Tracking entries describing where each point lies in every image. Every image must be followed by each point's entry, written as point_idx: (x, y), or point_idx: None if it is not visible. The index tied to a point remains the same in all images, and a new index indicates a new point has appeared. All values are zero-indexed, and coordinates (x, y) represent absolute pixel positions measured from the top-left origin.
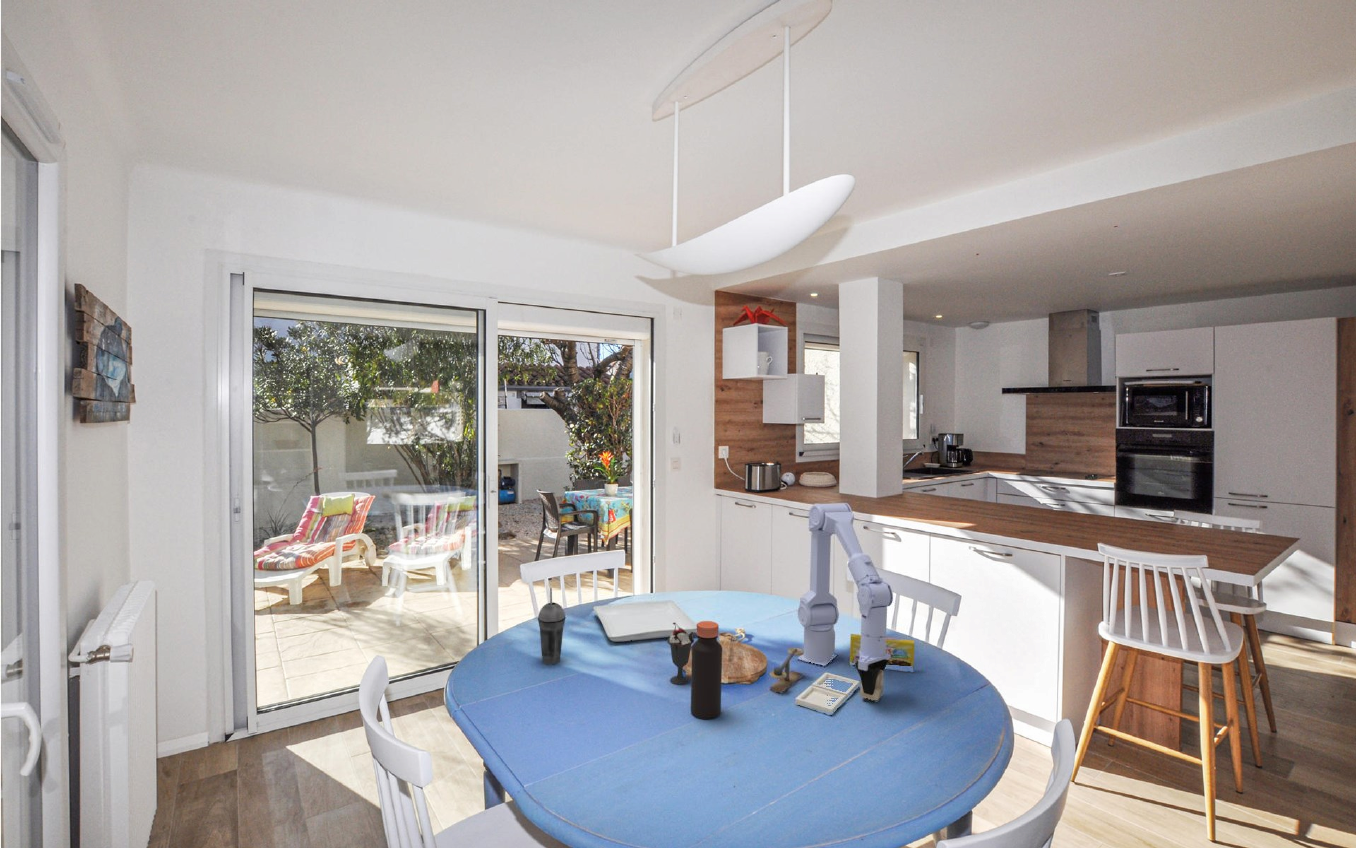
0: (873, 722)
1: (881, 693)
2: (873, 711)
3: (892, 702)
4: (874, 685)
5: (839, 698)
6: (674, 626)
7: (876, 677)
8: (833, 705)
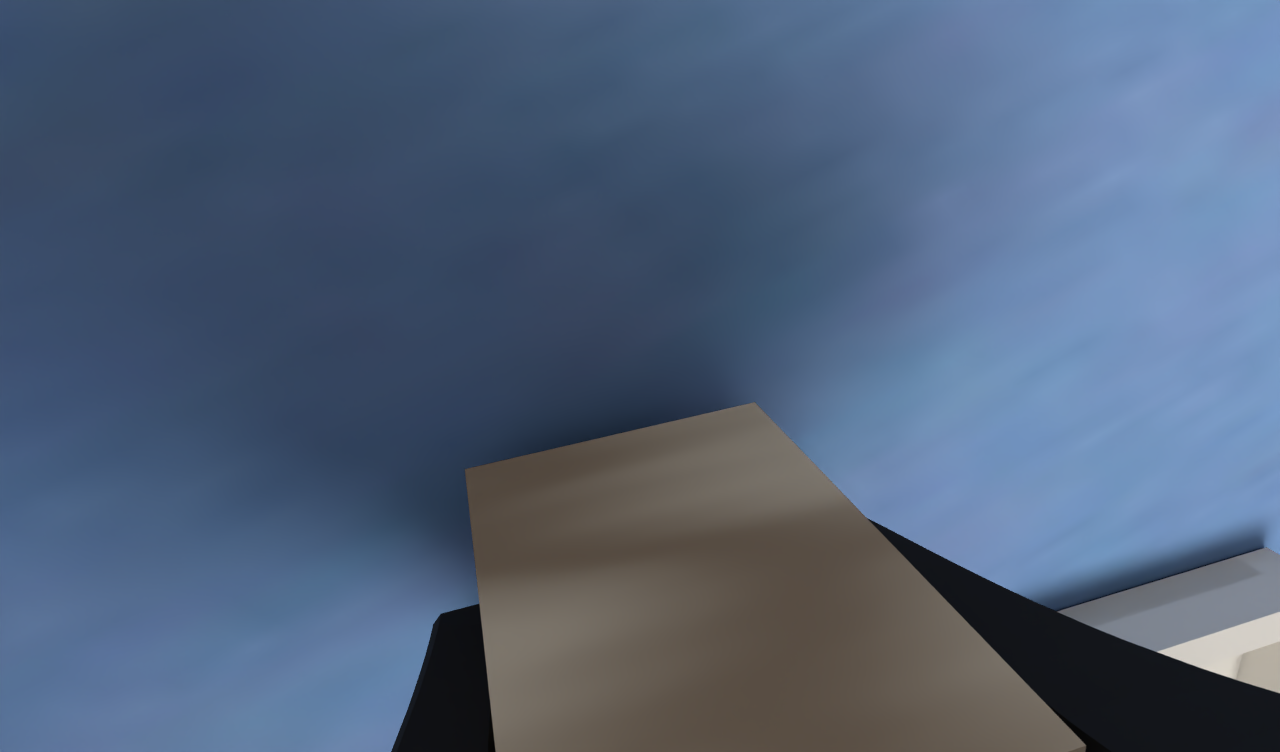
0: (1214, 159)
1: (538, 484)
2: (926, 319)
3: (428, 270)
4: (996, 593)
5: None
6: None
7: (1164, 723)
8: (1248, 639)
